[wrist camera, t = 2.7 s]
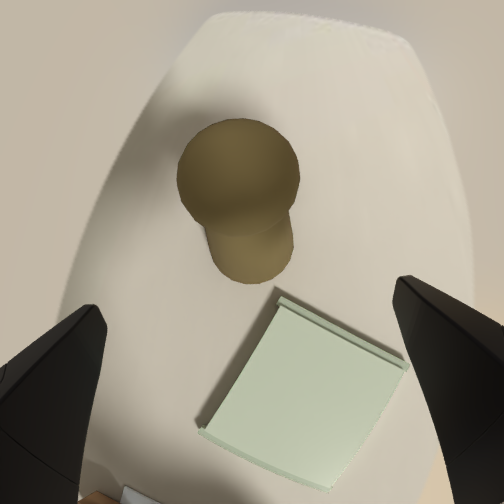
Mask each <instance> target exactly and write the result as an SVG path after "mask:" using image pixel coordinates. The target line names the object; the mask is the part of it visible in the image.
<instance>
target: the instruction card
mask: <svg viewBox="0 0 504 504" xmlns="http://www.w3.org/2000/svg"><path fill="white" fill-rule="evenodd" d="M120 503H121V504H161V503H159V502H157V501H155V500H153V499H151V498H149V497H147V496H145V495H143V494H141V493H139V492H137V491H135V490H133V489H131V488H129V487H128V486H126V485H125V486H124V490H123V493H122V497H121V500H120Z"/></svg>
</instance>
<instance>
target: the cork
mask: <svg viewBox="0 0 504 504" xmlns="http://www.w3.org/2000/svg"><path fill="white" fill-rule="evenodd" d="M299 182H300V173H299V164H298V160H297V157H296V154H295V152H294V151H293V149H292V147H291V145H290V143H289V141H287V140H286V139H285V138H284V137H283V136H282V135H281V134H280V133H279V132H278V131H277V130H275V129H274V128H272V127H270V126H268V125H266V124H264V123H262V122H260V121H256V120H250V119H244V118H241V119H227V120H224V121H221V122H218V123H215V124H212V125H210V126H209V127H207V128H205V129H204V130H202V131H200V132H199V133H198V134H197V135H196V136H195V137H194V138H193V139H192V140H191V141H190V142H189V143H188V145H187V147H186V148H185V150H184V152H183V154H182V156H181V159H180V161H179V163H178V170H177V187H178V191H179V194H180V198H181V202H182V203H183V205H184V206H185V208H186V209H187V210H188V212H189V213H190V214H191V216H192V217H193V218H194V220H195V221H196V222H198V223H199V224H201V225H202V226H204V227H205V230H206V235H207V239H208V244H209V248H210V252H211V255H212V258H213V261H214V263H215V265H216V266H217V267H218V269H219V270H220V271H221V273H223V274H224V275H225V276H227V277H228V278H230V279H231V280H233V281H236V282H240V283H243V284H260V283H262V282H265V281H268V280H271V279H273V278H274V277H275V276H277V275H278V274H279V273H281V272H282V271H283V270H284V268H285V267H286V265H287V264H288V262H289V261H290V259H291V255H292V251H293V248H294V246H293V233H292V228H291V222H290V216H289V211H288V210H289V209H290V208H291V206H292V205H293V203H294V202H295V198H296V194H297V191H298V187H299Z"/></svg>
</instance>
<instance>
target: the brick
mask: <svg viewBox="0 0 504 504" xmlns="http://www.w3.org/2000/svg"><path fill="white" fill-rule="evenodd" d="M77 504H121V503H119V502H117V501H115V500H113V499H111V498H109V497H107V496H105V495H103V494H101V493H100V492H98V491H96V492H94V493H92V494H90V495H89V496H87V497H85V498H83V499H81V500H80V501H78V503H77Z"/></svg>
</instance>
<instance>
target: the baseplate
mask: <svg viewBox="0 0 504 504" xmlns="http://www.w3.org/2000/svg"><path fill="white" fill-rule="evenodd" d="M276 305H278V306H279V307H280V308H279V309H278V311H277V313H276V315H275V316H274V318H273V320H272V322H271V323H270V325H269V327H268V329H267V330H266V332H265V334H264V335H263V337H262V339H261V340H260V342H259V344H258V346H257V347H256V349H255V351H254V352H253V354H252V356H251V357H250V359H249V361H248V362H247V364H246V365H245V367H244V369H243V370H242V372H241V374H240V375H239V377H238V379H237V380H236V382H235V383H234V385H233V387H232V388H231V390H230V391H229V393H228V395H227V396H226V398H225V399H224V401H223V402H222V404H221V406H220V407H219V409H218V410H217V412H216V413H215V415H214V416H213V418H212V419H211V421H210V423H209V424H208V426H206V425H204V424H203V426H202V427H201V428H200V430H199V431H198V434H199V435H201V436H203V437H204V438H206V439H208V440H210V441H211V442H213V443H215V444H217V445H218V446H220V447H222V448H224V449H226V450H228V451H230V452H231V453H233V454H235V455H237V456H239V457H241V458H243V459H245V460H247V461H249V462H251V463H253V464H256V465H258V466H260V467H262V468H264V469H266V470H269V471H271V472H273V473H275V474H278V475H280V476H283V477H285V478H287V479H290V480H292V481H295V482H298V483H300V484H303V485H306V486H308V487H311V488H314V489H317V490H320V491H323V492H326V493H329V492H330V490H331V489H332V488H333V487H332V485H333V484H334V483H335V482H336V480H337V479H338V478H339V476H340V475H341V474H342V473H343V471H344V470H345V469H346V467H347V466H348V464H349V463H350V462H351V460H352V459H353V458H354V456H355V455H356V453H357V452H358V450H359V449H360V447H361V446H362V444H363V443H364V441H365V440H366V438H367V437H368V435H369V434H370V432H371V431H372V429H373V428H374V426H375V424H376V423H377V421H378V419H379V418H380V416H381V414H382V413H383V411H384V409H385V407H386V406H387V404H388V402H389V400H390V399H391V397H392V395H393V393H394V391H395V389H396V388H397V386H398V384H399V382H400V380H401V378H402V376H403V374H404V372H407V370H408V368H409V365H410V364H409V363H407V362H405V361H403V360H401V359H399V358H397V357H395V356H393V355H391V354H389V353H387V352H385V351H383V350H381V349H379V348H378V347H376V346H374V345H372V344H370V343H368V342H366V341H364V340H362V339H360V338H358V337H356V336H355V335H353V334H351V333H349V332H347V331H345V330H343V329H341V328H339V327H338V326H336V325H334V324H332V323H330V322H328V321H326V320H325V319H323V318H321V317H319V316H317V315H315V314H313V313H312V312H310V311H308V310H306V309H304V308H302V307H300V306H299V305H297V304H295V303H293V302H291V301H289V300H288V299H286V298H284V297H282V296H281V297H280V299H279V300H278V302H277V304H276Z"/></svg>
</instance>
